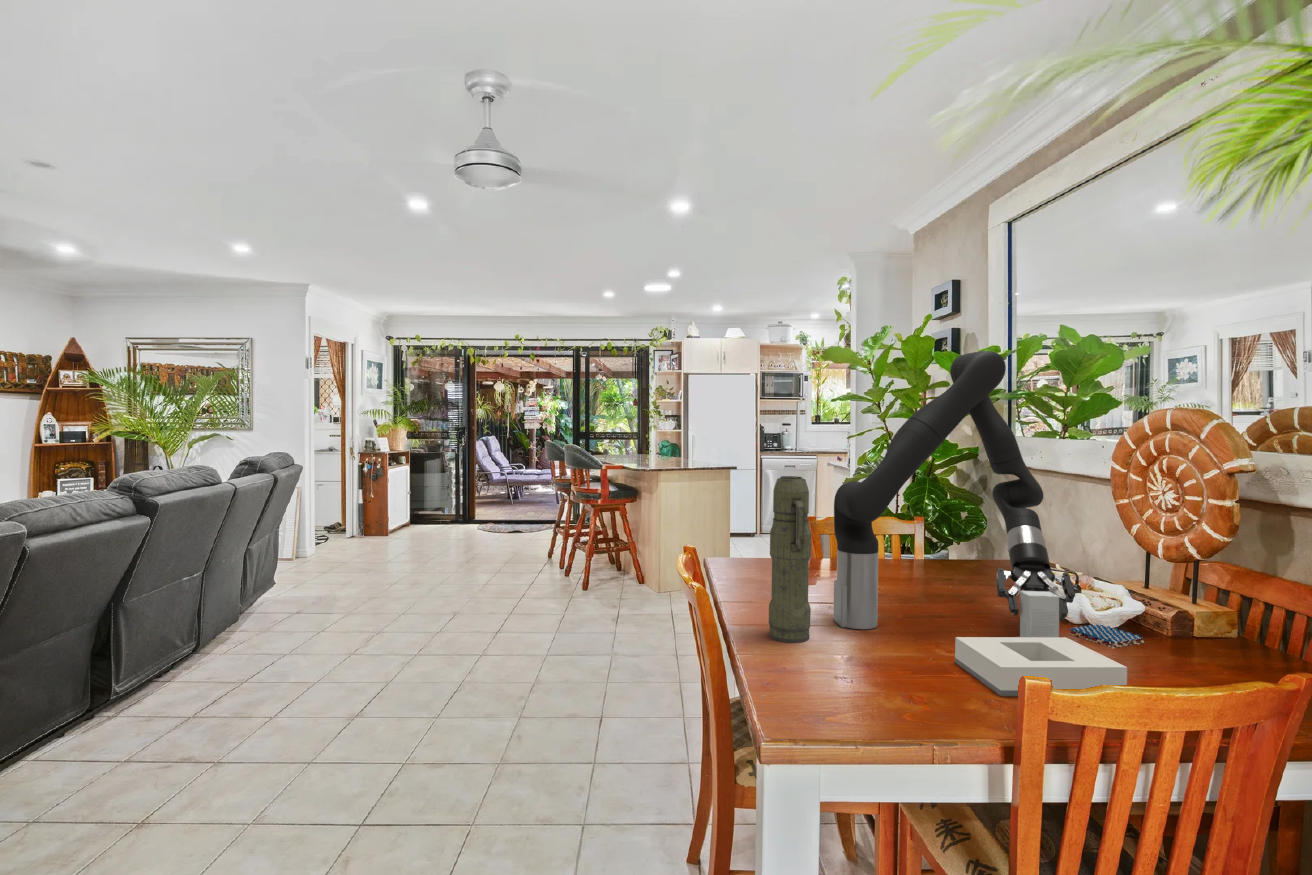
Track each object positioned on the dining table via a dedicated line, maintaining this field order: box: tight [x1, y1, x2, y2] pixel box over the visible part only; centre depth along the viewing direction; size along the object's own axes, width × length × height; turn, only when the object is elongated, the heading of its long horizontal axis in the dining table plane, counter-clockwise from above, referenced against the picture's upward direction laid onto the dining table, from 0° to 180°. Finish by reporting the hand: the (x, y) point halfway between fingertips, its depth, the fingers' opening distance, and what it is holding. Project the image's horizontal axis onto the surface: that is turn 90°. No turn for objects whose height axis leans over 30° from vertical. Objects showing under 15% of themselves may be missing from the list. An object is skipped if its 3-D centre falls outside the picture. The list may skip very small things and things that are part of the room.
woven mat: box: [1068, 623, 1145, 649], centre depth 143 cm, size 10×11×2 cm
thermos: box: [768, 475, 812, 644], centre depth 142 cm, size 9×12×35 cm
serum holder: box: [954, 636, 1128, 697], centre depth 119 cm, size 22×16×5 cm
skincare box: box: [1019, 590, 1060, 637], centre depth 134 cm, size 6×4×12 cm
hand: (1039, 615), depth 134 cm, fingers open, 8 cm apart
